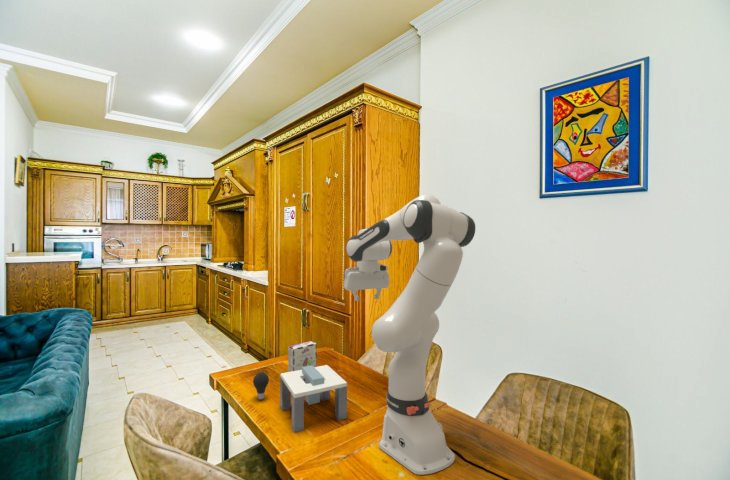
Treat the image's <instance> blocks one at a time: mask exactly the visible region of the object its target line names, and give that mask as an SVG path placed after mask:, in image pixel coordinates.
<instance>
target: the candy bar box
mask: <svg viewBox="0 0 730 480" xmlns="http://www.w3.org/2000/svg"><path fill="white" fill-rule="evenodd" d="M287 354H288V359H287V360H288V372H291V371H297V370H302V367H307V366H312V365H313V366H314V367H318V365H317V364H318V362H317V357H318V356H317V343H316V342H315V341H312V340H309V341H306V342H300V343H297V344H294V345H289V346H288V347H287ZM302 380H303V381H304V382H305V379H302Z"/></svg>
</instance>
